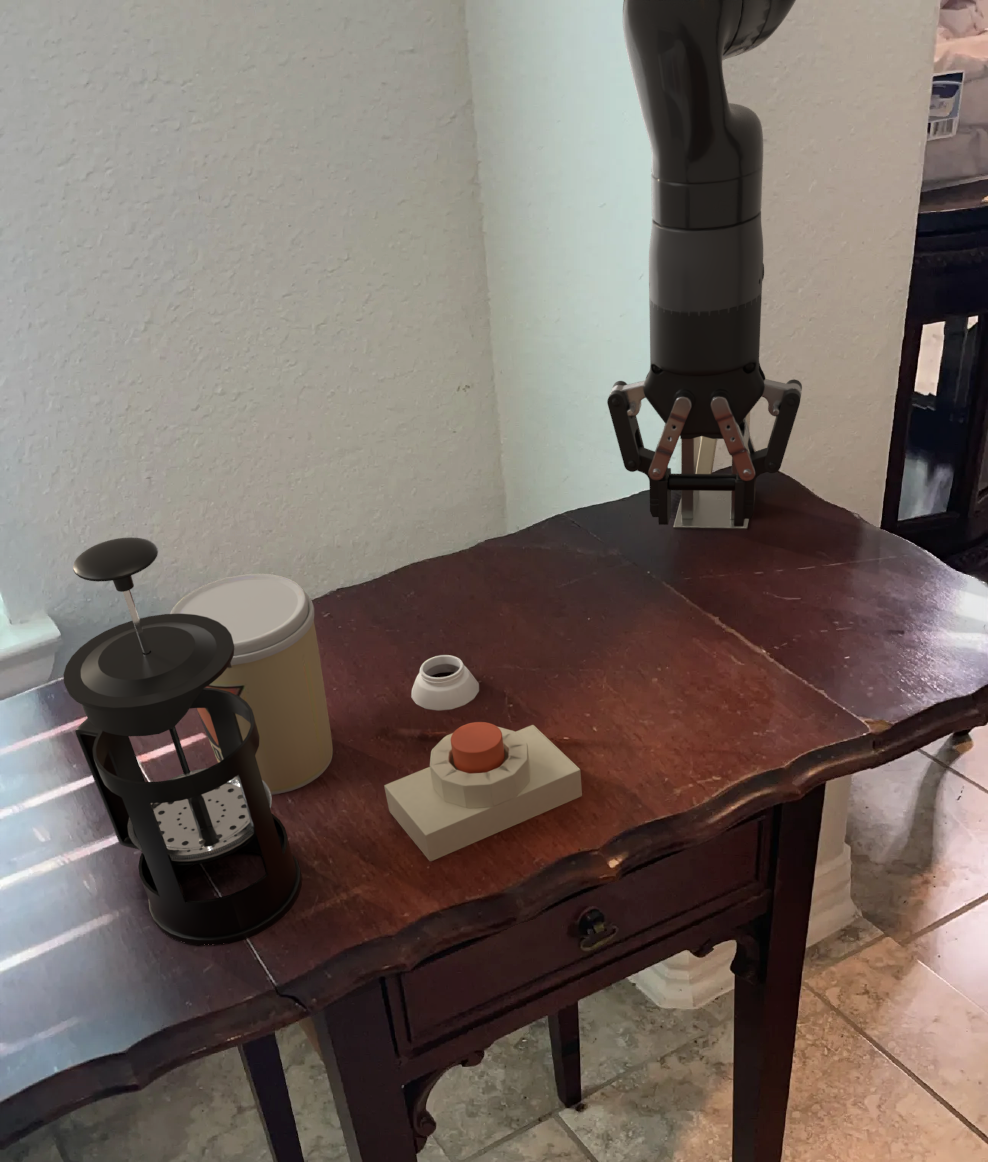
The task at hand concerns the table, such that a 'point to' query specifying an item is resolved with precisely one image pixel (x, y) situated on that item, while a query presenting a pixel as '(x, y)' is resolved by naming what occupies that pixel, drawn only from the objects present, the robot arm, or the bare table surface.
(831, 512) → the table surface
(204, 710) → the beige canister with lid
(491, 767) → the button
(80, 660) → the french press
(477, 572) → the table surface
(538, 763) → the button base
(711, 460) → the lever
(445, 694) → the white jar
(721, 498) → the switch bracket
